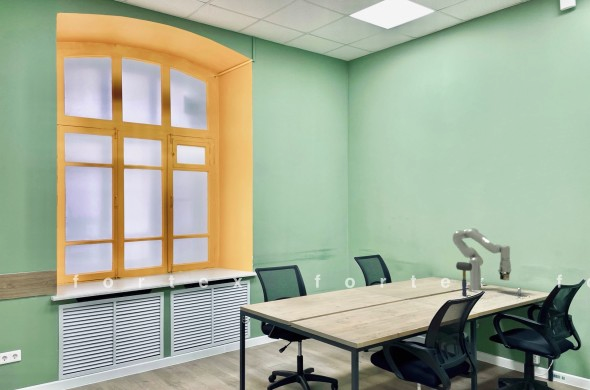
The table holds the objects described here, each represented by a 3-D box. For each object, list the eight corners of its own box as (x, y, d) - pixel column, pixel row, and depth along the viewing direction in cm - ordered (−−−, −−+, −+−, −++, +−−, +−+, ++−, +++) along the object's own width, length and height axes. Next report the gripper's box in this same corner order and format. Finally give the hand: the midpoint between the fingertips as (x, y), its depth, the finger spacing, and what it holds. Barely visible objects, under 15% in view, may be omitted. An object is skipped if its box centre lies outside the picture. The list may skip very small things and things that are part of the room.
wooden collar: (498, 279, 408) (498, 273, 408) (503, 278, 411) (503, 273, 411) (505, 280, 401) (505, 275, 401) (511, 280, 404) (511, 274, 404)
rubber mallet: (473, 296, 396) (472, 262, 396) (468, 297, 391) (468, 263, 391) (460, 294, 405) (459, 261, 406) (455, 295, 400) (455, 261, 401)
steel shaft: (517, 295, 393) (517, 287, 393) (519, 294, 394) (519, 287, 394) (519, 295, 391) (519, 288, 391) (521, 295, 392) (521, 288, 392)
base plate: (496, 293, 407) (496, 292, 407) (505, 292, 412) (505, 290, 412) (520, 298, 386) (520, 297, 386) (529, 297, 391) (529, 295, 391)
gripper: (502, 260, 399) (501, 280, 399) (515, 259, 407) (514, 278, 406) (495, 259, 405) (494, 278, 405) (507, 258, 413) (507, 277, 413)
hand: (504, 278), depth 406 cm, fingers closed on wooden collar, 7 cm apart
